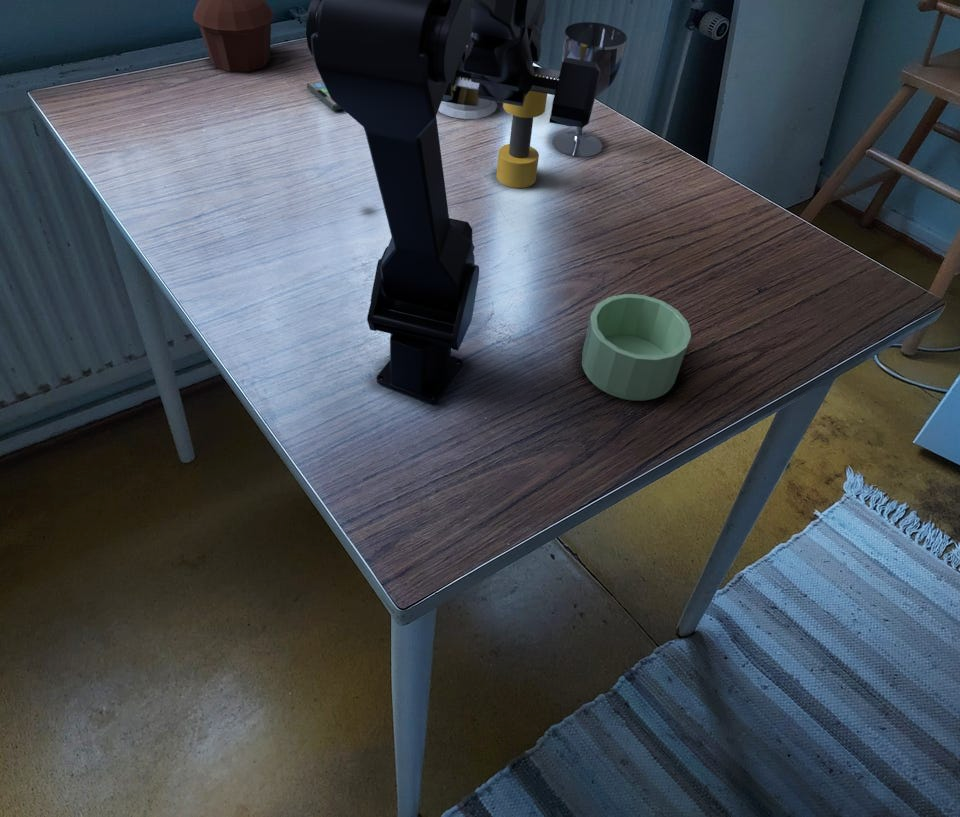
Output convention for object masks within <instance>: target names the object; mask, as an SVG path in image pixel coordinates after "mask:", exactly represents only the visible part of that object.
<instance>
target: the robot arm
mask: <svg viewBox="0 0 960 817" xmlns="http://www.w3.org/2000/svg"><path fill="white" fill-rule="evenodd" d="M546 5H547V0H311V1H310V4H309V6H308V8H307V9H308V10H307V16H306V21H305V37H306V43H307V47H308V48H307V49H308V50H309V53H310V55H312V58H313V63H314V65H315V68H316V70H317V72H318V74H319V76H320V79H321V81H323V83H324V85H325V87H326V89H327V91H328V94H329V96H330V97H331V99H332V100H333V101H334V102H335V103H336V104H337V105H339V106H340V107H341V108H342V109H341V110H343V111H344V112H345V113H347V114H348V115H349V116H350V117H352V119H353V120H355V121H356V122H357V123H358V124H359V125H361V126H362V128H363V130H364V134H365V137H366V140H367V144H368V149H369V153H370V156H371V161H372V165H373V168H374V173H375V177H376V181H377V184H378V189H379V193H380V196H381V197H380V198H381V201H382V204H383V208H384V212H385V216H386V220H387V224H388V228H389V231H390V235H391V237H390V240H389V243H388V245H387V246H386V247H385V249H384V250H383V253H382V256H381V258H379V259H378V261H377V264H376V269H375V275H374V279H373V285H372V290H371V295H370V304H369V308H368V312H367V316H366V320H367V324H368V327H369V330H370V331H374V332H376V331H378V332H382V333H386V334H390V337H389V361H388V362H387V363H386V364H385V365H384V367H383V368H382V369H381V370H380V372H378V374H377V376H376V383H377V384H378V385H381V386H383V387H386V388H388V389H392V390H394V391H397V392H398V393H402V394H405V395H407V396H410V397H412V398H415V399H418V400H420V401H423V402H424V403H425V402H426V403H428V404H430V405H435V404H438V403H439V401H440V400H441V399H442V397H443V396H444V394H445V393H446V391H447V390H448V388H449V387H450V386H451V384H452V383H453V382H454V380H455V378H456V377H457V376H458V374H459V373H460V371H462V368H463V367H464V360H463V359H461V358H459V357H456V356H453V355H452V350H453V351H456V352H458V351H459V350H460V347H461V345H462V344H463V341H464V339H465V336H466V334H467V332H468V330H469V327H470V325H471V323H472V321H473V320H472V319H473V315H474V309H475V302H476V296H477V292H478V291H477V290H478V283H479V277H480V266H479V265H477V264H475V254H474V251H475V245H474V242H473V227H472V226H471V225H470V223H469V222H468V221H465V220H464V221H463V220H459V219H455V218H451V217H450V213H449V206H448V197H447V190H446V183H445V174H444V168H443V167H444V166H443V159H442V151H441V144H440V143H441V142H440V135H439V127H438V120H437V115H438V112H439V111H438V110H439V107H440V104H441V102H442V101H444V102H449V103H454V104H460V105H468V106H478V105H479V101H480V98H481V99H486V100H491V101H495V102H496V103H497V102H498V103H502V104H503V103H507V104H512V105H517V106H522V107H523V103H524V99H525V95H527V94H528V92H529V91H535V92H540V93H545V94H547V95H552V96H553V100H552V103H551V109H550V110H551V111H550V117H549V122H548V123H551V124H556V125H559V126H566V127H569V128H570V127H576V128H577V127H580V128H584V127H586V126H588V125H589V123H590V120H591V115H592V111H593V107H594V103H595V101H596V98H595V96H596V92H597V88H598V84H599V80H600V68H599V67H598V65H597V63H594V62H589V61H583V60H578V59H573V58H567V57H565V58H564V60H563V62H562V64H561V67H560V70H557V69H552V68H547V67H543V66H542V67H541V66H538V65H537V66H536V65H534V63H535V62H536V63H538V62H539V61H540V58H541V57H540V56H541V54H542V46H541V39H542V30H543V27H544V25H545V23H546V10H547V9H546V8H547V6H546ZM467 45H468V47H467V49H466V46H467ZM536 75H537V76H536ZM540 75H541V77H539V76H540ZM543 76H544V77H543Z"/></svg>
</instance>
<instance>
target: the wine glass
mask: <svg viewBox="0 0 960 817" xmlns="http://www.w3.org/2000/svg"><path fill="white" fill-rule="evenodd" d="M627 40H628V37H627V34H625V32H624V31H622V30H621V29H620V28H617V27H615V26H612V25H609V24H606V23H601V22H595V21H593V22H592V21H581V22H576V23H572V24H570V25H568V26H566V28H565V30H564V35H563V42H562V52H561V55H562V57H561V60H562V63H563V60H564V58H565V57H567V58H573V59H578V60H583V61H589V62H594V63H597V65H598V67H599V68H600V80H599V84H598V88H597V92H596V96H595V99H596V98H597V97H599V96H600V95H601V94H602V93H603V92H605V91H606V90H607V89H609V87H611V85H612V84H613V82H614V81H615V79H616V77H617V75H618V73H619V70H620V67H621V65H622V62H623V58H624V54H625V50H626V45H627ZM583 128H584V127H583ZM583 128H580V127H576V131H575V130H573V131H562V132H559V133H557V134H555V135H554V136H553V137H552V139H551V144H552V146H553V147H554V149H556V150H557V151H559V152H560V153H562V154H565V155H568V156H572V157H577V158H578V157H579V158H586V157H592V156H595V155H598V154H600V152H601V151H602V149H603V144H602V142H601V140H599V139H598V138H597V137H596V136H594V135H592V134H589V133H586V132H583V130H584V129H583Z"/></svg>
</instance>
